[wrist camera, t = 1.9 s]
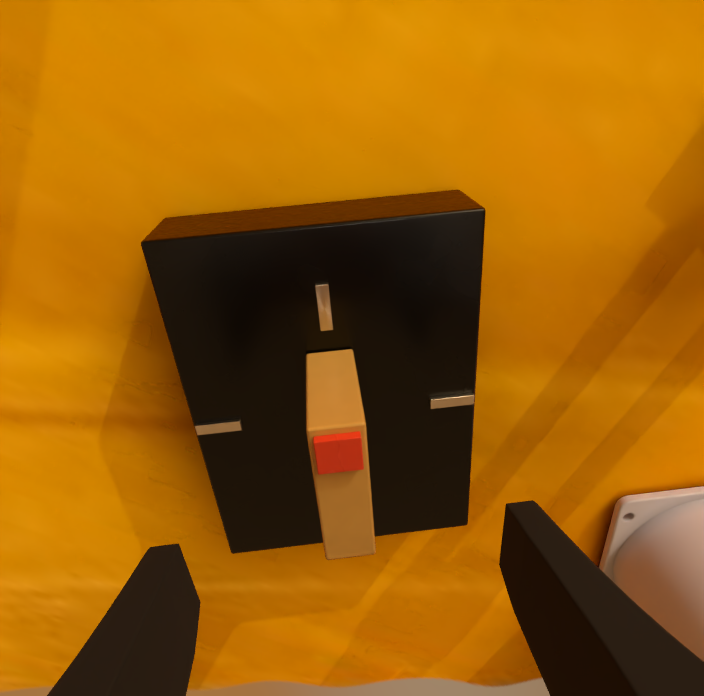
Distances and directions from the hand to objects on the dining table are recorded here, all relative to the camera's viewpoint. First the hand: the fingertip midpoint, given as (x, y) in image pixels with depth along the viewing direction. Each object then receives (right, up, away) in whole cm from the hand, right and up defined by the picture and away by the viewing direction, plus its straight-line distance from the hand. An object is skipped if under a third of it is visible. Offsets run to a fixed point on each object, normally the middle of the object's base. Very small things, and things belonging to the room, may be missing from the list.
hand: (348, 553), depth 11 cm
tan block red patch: (0, +3, +5) cm, 5 cm away
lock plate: (-1, +4, +7) cm, 8 cm away
